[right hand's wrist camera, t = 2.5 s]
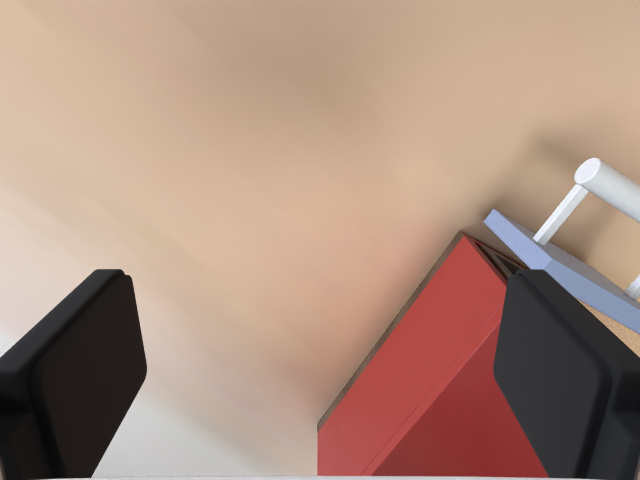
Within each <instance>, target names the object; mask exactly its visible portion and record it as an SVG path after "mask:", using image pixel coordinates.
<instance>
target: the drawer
mask: <svg viewBox="0 0 640 480" xmlns="http://www.w3.org/2000/svg"><path fill="white" fill-rule="evenodd" d="M574 180H575V182H576V183H577V184H576V185H575V186H574V187H573V189H572V190H571V191H570V192H569V194H568V195H567V196H566V197H565V198H564V200H563V201H562V202H561V203H560V205H559V206H558V207H557V208H556V210H555V211H554V212H553V213H552V215H551V216H550V217H549V218H548V220H547V221H546V222H545V223H544V225H543V226H542V227H541V228H540V230H539V231H538V232H537V233H534V232H532V231H531V230H529V229H527V228H526V227H524V226H522V225H521V224H519V223H517V222H516V221H514V220H512V219H511V218H509V217H507V216H506V215H504V214H502V213H501V212H499V211H497V210H496V209H493V210H492V211H491V213H490V214H489V215H488V217H487V218H486V219H485V221H484V223H485V224H486V225H487V226H488V227H489V228H490V229H491V230H492V231H493V232H494V233H495V234H496V235H497V236H498V237H499V238H500V239H501V240H502V241H503V242H504V243H505V244H506V245H507V246H508V247H509V248H510V249H511V250H512V251H513V252H514V253H515V254H516V255H517V256H518V257H519V258H520V259H521V260H522V261H523V262H524V263H525V264H526V265H527V266H528V267H529V268H530V269H543V270H545V271H546V272H547V273H548V274H550V275H551V276H552V277H553V278H554V279H555V280H556V281H557V282H558V283H559V284H560V285H561V286H563V287H564V288H565V289H566V290H567V291H568V292H569V293H570V294H571V295H572V296H574V297H575V298H577V299H579V300H581V301H582V302H584V303H586V304H588V305H589V306H591V307H593V308H595V309H596V310H598V311H600V312H602V313H603V314H605V315H607V316H608V317H610V318H612V319H614V320H615V321H617V322H619V323H621V324H622V325H624V326H626V327H628V328H629V329H631V330H633V331H635V332H636V333H638V334H640V303H639V302H638V301H636V299H637V298H638V297H639V296H640V275H639V276H638V277H637V278H636V279H635V280H634V281H633V282H632V283H631V285H630V286H629V287H628V288H627V289H626V290H625V291H623V290H622V289H621V288H619V287H618V286H617V285H615V284H614V283H613V282H611V281H610V280H609V279H607V278H606V277H605V276H603V275H602V274H601V273H599V272H598V271H597V270H596V269H594V268H593V267H591V266H589V265H588V264H586V263H584V262H583V261H581V260H579V259H578V258H576V257H574V256H573V255H571V254H569V253H568V252H566V251H564V250H563V249H561V248H559V247H557V246H556V245H554V244H552V243H551V242H549V239H550V238H551V237H552V236H553V235H554V233H555V232H556V231H557V230H558V228H559V227H560V226H561V225H562V224H563V222H564V221H565V220H566V219H567V218H568V216H569V215H570V214H571V213H572V211H573V210H574V209H575V208H576V207H577V205H578V204H579V203H580V202H581V200H582V199H583V198H584V197H585V196H586V194H587V193H588V192H589V191H590V192H591V193H593V194H594V195H596V196H598V197H599V198H601V199H602V200H604V201H605V202H607V203H609V204H610V205H612V206H613V207H615V208H616V209H618V210H620V211H621V212H623V213H624V214H626V215H627V216H629V217H631V218H632V219H634V220H635V221H637V222H638V223H640V185H638V184H636V183H635V182H633V181H632V180H630V179H629V178H627V177H626V176H624V175H623V174H621V173H620V172H618V171H617V170H615V169H614V168H612V167H611V166H609V165H608V164H606V163H605V162H603V161H602V160H600V159H598V158H591V159H588V160H587V161H585V162H584V163H583V164H582V165H581V166H580V167H579V168H578V169H577V171H576V173H575V176H574ZM578 184H579V185H578ZM479 249H480V250H481V251H482V252H483V253H484V254H485V256H486V257H487V258H488V259H489V260H490V262H491V263H492V264H493V265H494V266H495V267H496V269H497V270H498V271H499V272H500V273H501V274H502V276H503V277H504V278H505V279H506V280H507V282H508V278H509V276H511V275H515V274H516V272H517V271H518V270H519V269H524V268H522V267H520V266H519V265H517V264H515V263H513V262H512V261H510V260H508V259H506V258H505V257H503V256H501V255H500V254H498V253H496V252H494V251H493V250H491V249H489V248H487V247H486V246H484V245H481V246H480V247H479Z"/></svg>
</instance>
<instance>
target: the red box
mask: <svg viewBox="0 0 640 480" xmlns="http://www.w3.org/2000/svg"><path fill="white" fill-rule="evenodd" d="M481 245H484V244H482V243H480V242H478V241H477V240H475V239H473V238H472V237H470V236H468V235H466V234H465V233H463V232H461V231H459V233H458V234H457V235H456V237H455V238H454V239H453V241H452V242H451V243H450V245H449V246H448V247H447V249H446V250H445V252H444V253H443V254H442V256H441V257H440V258H439V260H438V261H437V262H436V264H435V265H434V267H433V268H432V269H431V271H430V272H429V273H428V275H427V276H426V277H425V279H424V280H423V281H422V283H421V284H420V286H419V287H418V288H417V290H416V291H415V292H414V294H413V295H412V296H411V298H410V299H409V301H408V302H407V303H406V305H405V306H404V307H403V309H402V310H401V311H400V313H399V314H398V315H397V317H396V318H395V320H394V321H393V322H392V324H391V325H390V326H389V328H388V329H387V330H386V332H385V333H384V335H383V336H382V337H381V339H380V340H379V341H378V343H377V344H376V345H375V347H374V348H373V349H372V351H371V352H370V354H369V355H368V356H367V358H366V359H365V360H364V362H363V363H362V364H361V366H360V367H359V369H358V370H357V371H356V373H355V374H354V375H353V377H352V378H351V379H350V381H349V382H348V384H347V385H346V386H345V388H344V389H343V390H342V392H341V393H340V394H339V396H338V397H337V398H336V400H335V401H334V403H333V404H332V405H331V407H330V408H329V409H328V411H327V412H326V413H325V415H324V416H323V418H322V419H321V420H320V422H319V423H318V427H317V433H318V476H445V477H516V478H549V477H548V475H547V473H546V471H545V469H544V468H543V466H542V464H541V462H540V460H539V458H538V457H537V455H536V453H535V451H534V449H533V448H532V446H531V444H530V442H529V440H528V439H527V437H526V435H525V433H524V431H523V430H522V428H521V426H520V424H519V422H518V420H517V419H516V417H515V415H514V413H513V411H512V410H511V408H510V406H509V404H508V402H507V401H506V399H505V397H504V395H503V393H502V391H501V390H500V388H499V386H498V384H497V382H496V380H495V378H494V373H493V364H494V358H495V352H496V346H497V340H498V334H499V328H500V323H501V317H502V311H503V305H504V299H505V293H506V287H507V280H506V279H505V278H504V277H503V276H502V274H501V273H500V272H499V271H498V270H497V269H496V267H495V266H494V265H493V264H492V263H491V262H490V260H489V259H488V258H487V257H486V256H485V254H484V253H483V252H482V251H481V250H480V249H479V247H480V246H481ZM484 246H485V245H484ZM486 247H487V246H486ZM487 248H489V247H487ZM489 249H491V248H489ZM491 250H492V249H491ZM493 251H494V250H493ZM494 252H496V251H494ZM496 253H498V252H496ZM498 254H499V253H498ZM500 255H501V254H500ZM501 256H503V255H501ZM503 257H505V256H503ZM505 258H506V257H505ZM506 259H508V258H506ZM508 260H510V259H508ZM510 261H511V260H510ZM512 262H513V261H512ZM513 263H515V262H513ZM515 264H517V263H515ZM517 265H518V264H517ZM519 266H520V265H519ZM520 267H522V266H520ZM522 268H524V267H522ZM524 269H525V268H524Z"/></svg>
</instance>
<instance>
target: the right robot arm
mask: <svg viewBox="0 0 640 480" xmlns="http://www.w3.org/2000/svg"><path fill="white" fill-rule="evenodd" d="M146 373H147V364H146V358H145V352H144V346H143V340H142V334H141V328H140V323H139V317H138V311H137V305H136V299H135V293H134V287H133V282H132V278H131V276H129V275H125V274H124V272H123V271H122V270H121V269H97V270H95V271H94V272H93V273H92V274H90V275H89V276H88V277H87V278H86V279H85V280H84V281H83V282H82V283H81V284H80V285H79V286H77V287H76V288H75V289H74V290H73V291H72V292H71V293H70V294H69V295H68V296H67V297H66V298H64V299H63V300H62V301H61V302H60V303H59V304H58V305H57V306H56V307H55V308H54V309H53V310H51V311H50V312H49V313H48V314H47V315H46V316H45V317H44V318H43V319H42V320H41V321H40V322H38V323H37V324H36V325H35V326H34V327H33V328H32V329H31V330H30V331H29V332H28V333H27V334H25V335H24V336H23V337H22V338H21V339H20V340H19V341H18V342H17V343H16V344H15V345H14V346H12V347H11V348H10V349H9V350H8V351H7V352H6V353H5V354H4V355H3V356H2V357H1V358H0V480H640V358H639V357H638V356H637V355H636V354H635V353H634V352H633V351H632V350H631V349H630V348H629V347H628V346H626V345H625V344H624V343H623V342H622V341H621V340H620V339H619V338H618V337H617V336H616V335H615V334H613V333H612V332H611V331H610V330H609V329H608V328H607V327H606V326H605V325H604V324H603V323H602V322H600V321H599V320H598V319H597V318H596V317H595V316H594V315H593V314H592V313H591V312H590V311H589V310H587V309H586V308H585V307H584V306H583V305H582V304H581V303H580V302H579V301H578V300H577V299H576V298H574V297H573V296H572V295H571V294H570V293H569V292H568V291H567V290H566V289H565V288H564V287H563V286H561V285H560V284H559V283H558V282H557V281H556V280H555V279H554V278H553V277H552V276H551V275H550V274H548V273H547V272H546V271H545V270H543V269H519V270H518V271H517V272H516V274H515V275H511V276H509V278H508V282H507V287H506V293H505V299H504V305H503V311H502V317H501V323H500V328H499V334H498V340H497V346H496V352H495V358H494V364H493V373H494V378H495V380H496V382H497V384H498V386H499V388H500V390H501V391H502V393H503V395H504V397H505V399H506V401H507V402H508V404H509V406H510V408H511V410H512V411H513V413H514V415H515V417H516V419H517V420H518V422H519V424H520V426H521V428H522V430H523V431H524V433H525V435H526V437H527V439H528V440H529V442H530V444H531V446H532V448H533V449H534V451H535V453H536V455H537V457H538V458H539V460H540V462H541V464H542V466H543V468H544V469H545V471H546V473H547V475H548V477H549V478H516V477H445V476H195V477H124V478H91V477H92V475H93V473H94V471H95V469H96V468H97V466H98V464H99V462H100V460H101V458H102V457H103V455H104V453H105V451H106V449H107V448H108V446H109V444H110V442H111V440H112V439H113V437H114V435H115V433H116V431H117V430H118V428H119V426H120V424H121V422H122V420H123V419H124V417H125V415H126V413H127V411H128V410H129V408H130V406H131V404H132V402H133V401H134V399H135V397H136V395H137V393H138V391H139V390H140V388H141V386H142V384H143V382H144V380H145V378H146Z"/></svg>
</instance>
